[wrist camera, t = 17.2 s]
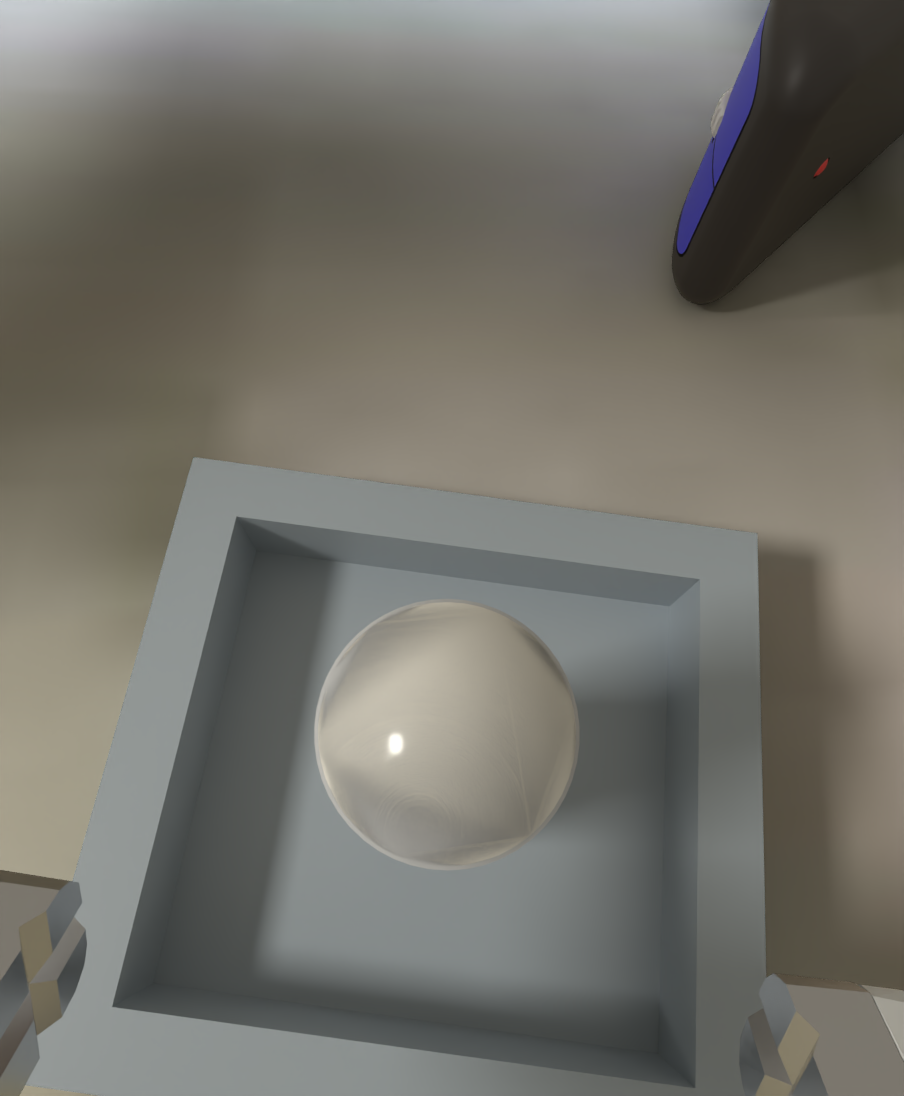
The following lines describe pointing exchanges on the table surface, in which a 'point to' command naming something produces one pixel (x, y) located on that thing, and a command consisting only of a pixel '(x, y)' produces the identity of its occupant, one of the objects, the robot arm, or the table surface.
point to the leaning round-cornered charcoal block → (790, 134)
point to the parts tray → (398, 888)
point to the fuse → (446, 734)
